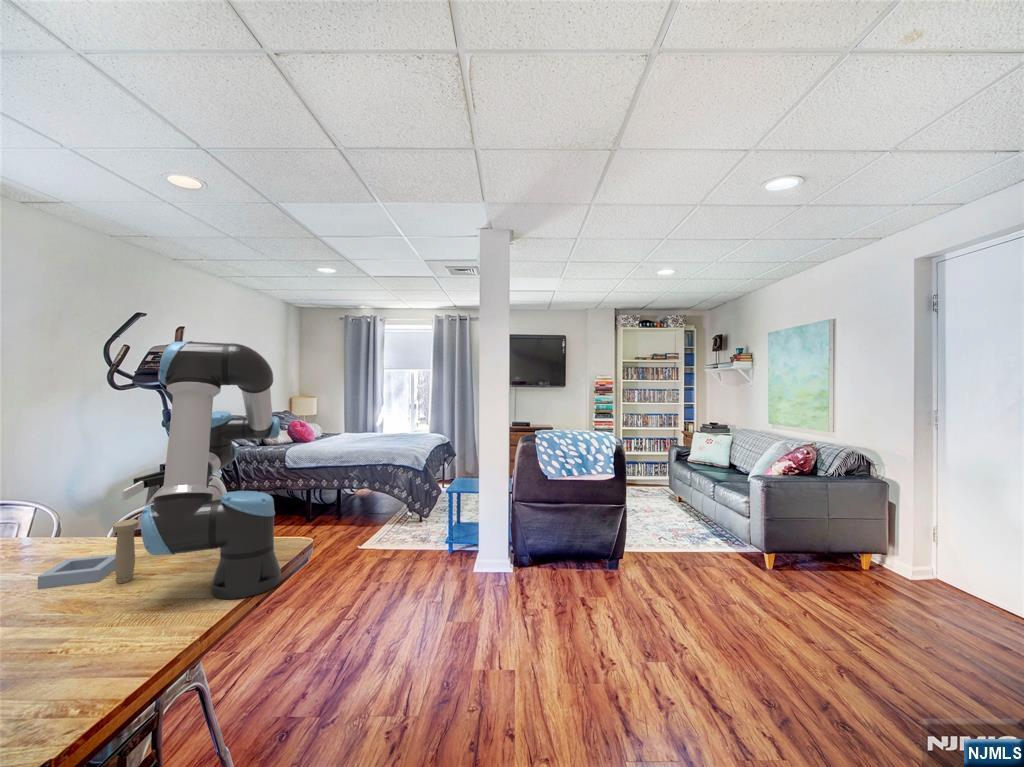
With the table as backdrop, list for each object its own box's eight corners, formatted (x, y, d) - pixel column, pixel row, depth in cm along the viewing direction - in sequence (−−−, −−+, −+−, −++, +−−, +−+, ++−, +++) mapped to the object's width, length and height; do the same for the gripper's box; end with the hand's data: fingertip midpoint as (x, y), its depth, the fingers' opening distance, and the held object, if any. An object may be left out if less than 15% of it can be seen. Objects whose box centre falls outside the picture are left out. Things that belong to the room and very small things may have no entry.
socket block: (99, 581, 113) (99, 569, 113) (37, 589, 108) (37, 576, 108) (121, 564, 124) (121, 553, 124) (66, 570, 120) (66, 559, 120)
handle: (109, 588, 109) (111, 527, 109) (114, 579, 114) (115, 521, 115) (135, 583, 112) (136, 524, 112) (138, 574, 117) (139, 518, 117)
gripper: (240, 481, 142) (197, 513, 121) (160, 475, 140) (102, 506, 120) (240, 460, 141) (196, 488, 120) (159, 453, 139) (100, 481, 118)
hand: (149, 497), depth 120 cm, fingers open, 13 cm apart
